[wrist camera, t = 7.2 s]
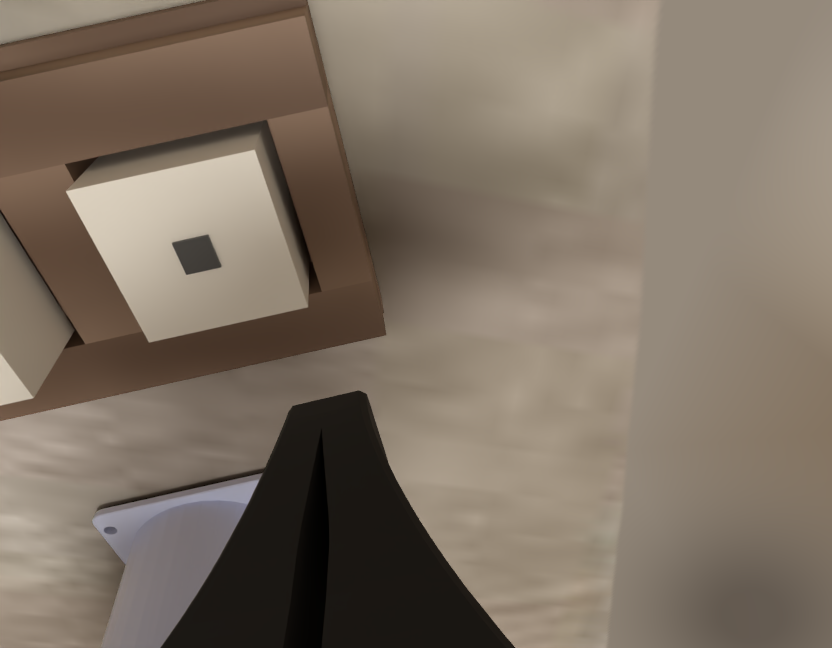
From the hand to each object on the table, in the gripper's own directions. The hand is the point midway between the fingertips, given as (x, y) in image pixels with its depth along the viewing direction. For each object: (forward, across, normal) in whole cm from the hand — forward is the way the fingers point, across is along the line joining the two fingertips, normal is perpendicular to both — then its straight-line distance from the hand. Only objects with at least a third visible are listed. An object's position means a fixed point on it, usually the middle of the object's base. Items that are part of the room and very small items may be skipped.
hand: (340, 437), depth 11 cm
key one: (+9, +3, -2) cm, 9 cm away
